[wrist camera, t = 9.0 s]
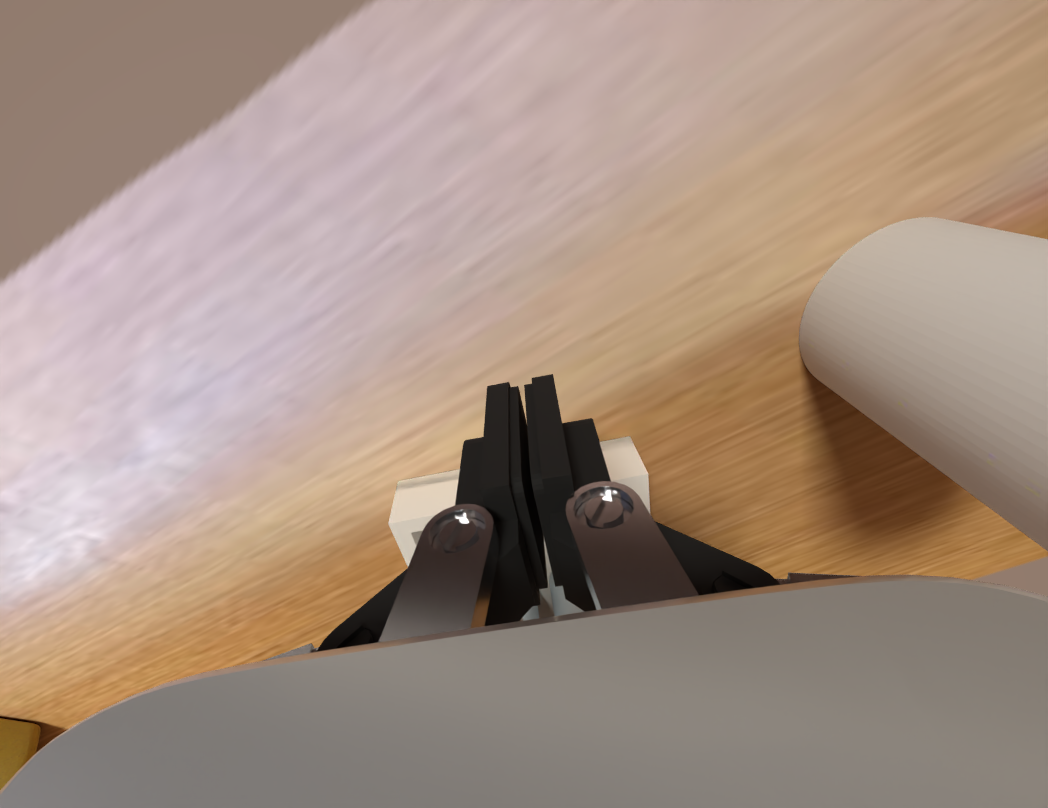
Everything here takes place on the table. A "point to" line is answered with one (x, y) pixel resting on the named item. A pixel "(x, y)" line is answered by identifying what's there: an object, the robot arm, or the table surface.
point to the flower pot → (16, 746)
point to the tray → (439, 492)
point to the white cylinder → (945, 353)
